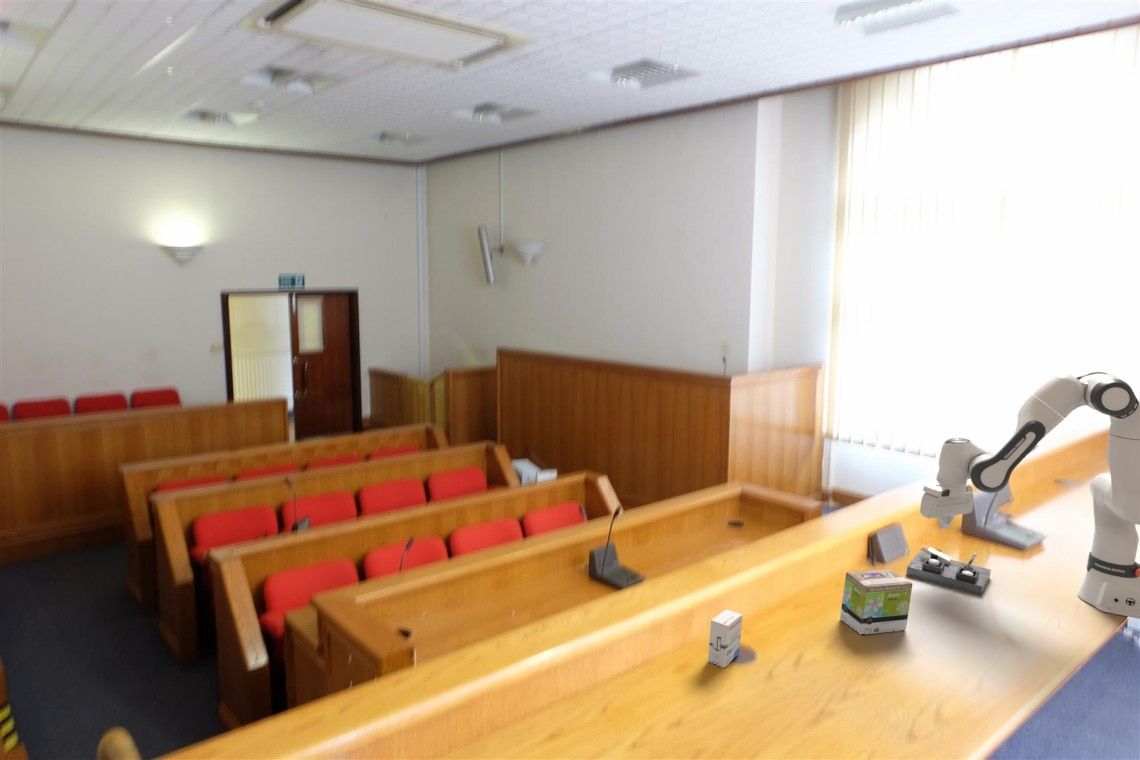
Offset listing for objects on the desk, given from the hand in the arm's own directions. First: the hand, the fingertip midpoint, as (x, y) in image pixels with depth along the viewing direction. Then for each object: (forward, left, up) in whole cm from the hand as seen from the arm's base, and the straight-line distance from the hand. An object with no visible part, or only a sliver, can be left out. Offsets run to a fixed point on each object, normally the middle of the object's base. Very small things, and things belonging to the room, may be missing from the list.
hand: (944, 527), depth 249 cm
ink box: (+32, +94, -16) cm, 101 cm away
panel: (-3, 0, -16) cm, 16 cm away
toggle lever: (-8, -4, -12) cm, 15 cm away
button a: (-9, +4, -13) cm, 16 cm away
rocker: (+2, -4, -13) cm, 13 cm away
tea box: (+7, +50, -16) cm, 53 cm away
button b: (+1, +4, -12) cm, 12 cm away
